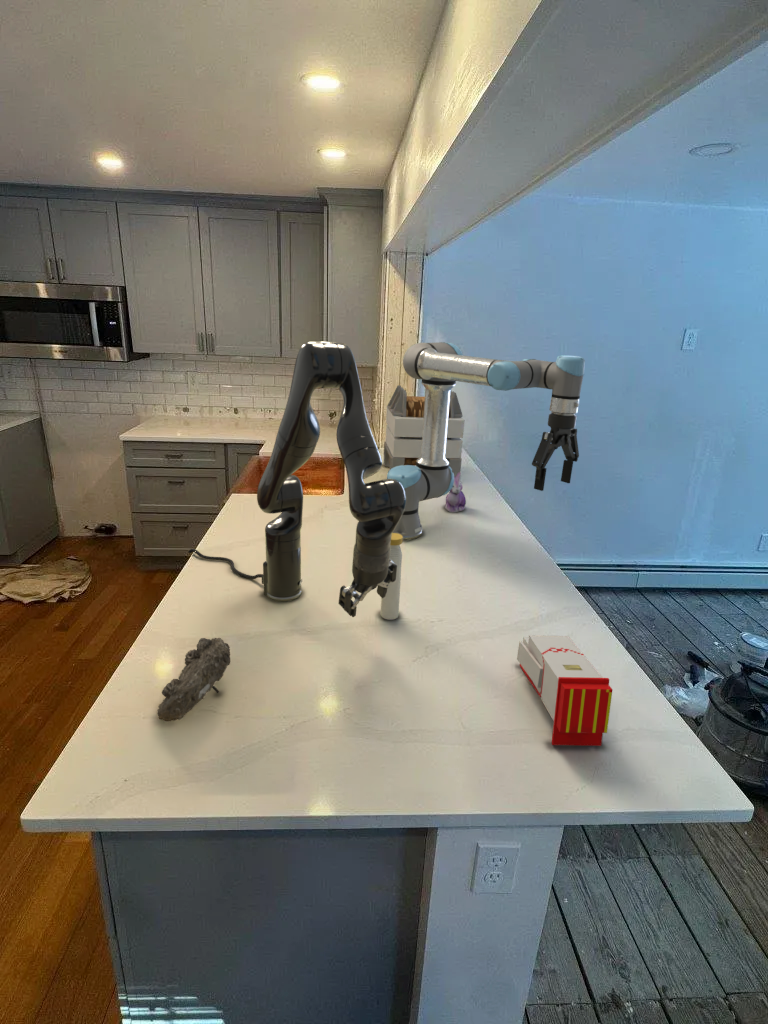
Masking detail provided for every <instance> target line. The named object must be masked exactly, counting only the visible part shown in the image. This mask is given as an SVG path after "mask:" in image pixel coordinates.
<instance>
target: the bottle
mask: <svg viewBox="0 0 768 1024" xmlns="http://www.w3.org/2000/svg"><path fill="white" fill-rule="evenodd" d="M390 559H391V560H392V561H393V562H394V563H395V564H396V565H397V572H396V580H395V581H394V582H390V583H389V584H390V585H389V586H388V587H387V593H386V596H385V597H384V598H381V597H380V617H381V618H382V619H384V620H387V621H388V620H389V621H393V620H395V619H398V618H399V615H400V614H399V611H400V597H401V593H400V592H401V580H402V579H401V577H402V563H403V561H402V560H403V552H402V548H401V544H400V545H395V546H394V545H390Z"/></svg>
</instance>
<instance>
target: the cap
mask: <svg viewBox="0 0 768 1024" xmlns="http://www.w3.org/2000/svg"><path fill="white" fill-rule="evenodd" d="M403 541H404V540H403V536H402V535H400V534H397V533H392V537H391V544H390V545H394V546H395V545H400V546H401V545H402V544H403Z"/></svg>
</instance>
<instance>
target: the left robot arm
mask: <svg viewBox="0 0 768 1024" xmlns="http://www.w3.org/2000/svg"><path fill="white" fill-rule="evenodd" d="M292 372H293V373H292V379H291V384H290V388H289V394H288V398H287V401H286V405H285V408H284V412H283V415H282V417H281V421H280V423H279V426H278V430H277V433H276V436H275V440H274V444H273V448H272V451H271V454H270V456H269V460H268V462H267V465H266V467H265V469H264V471H263V473H262V476H261V478H260V480H259V483H258V486H257V492H256V502H257V505H258V508H259V509H260V510H261V512H263V513H265V514H268V515H269V514H273V515H274V514H279V513H280V514H279V515H278V516H277V517H275V518H274V519H272V520H271V521H269V522H268V523H267V524H266V525H265V527H264V536H265V537H264V541H265V542H264V543H265V560H264V561H263V562H262V573H257V574H255V575H249V574H246V573H243V572H241V571H239V570H238V569H236V568H235V563H234V561H233V559H231V558H228V557H223V556H211V555H205V554H203V553H201V552H200V551H198V550H197V549H196V548H191V549H189V550H188V551H187V553H189V554H192V553H194V554H196V555H197V556H198V557H200V558H201V559H203V560H208V561H209V560H210V561H224V562H227V563H229V564H230V569H231V571H232V572H233V573H234V574H235V575H238V576H240V577H242V578H245V579H248V580H256V579H258V578H260V579H261V584H262V585H263V595H264V596H267V598H269V599H270V600H273V601H277V602H288V601H289V602H290V601H293V600H295V599H298V598H299V597H300V596H301V595H302V583H303V578H302V543H301V542H302V539H301V538H302V537H301V535H302V533H301V532H302V531H301V530H302V528H303V527H302V526H303V508H304V489H303V484H302V482H301V480H300V478H299V477H298V476H297V475H295V474H294V473H295V472H296V471H298V470H299V469H300V468H302V467H303V466H304V465H305V464H306V463H307V462H308V461H309V460H310V459H311V458H312V456H313V454H314V452H315V451H316V447H317V445H318V443H319V439H320V436H321V426H320V423H319V419H318V417H317V415H316V413H315V410H314V409H313V407H312V404H311V399H312V395H313V393H314V391H315V390H317V389H320V390H321V389H337V390H339V392H340V395H341V398H342V410H341V412H340V416H339V420H338V423H337V426H336V443H337V447H338V450H339V453H340V455H341V458H342V461H343V464H344V467H345V472H346V476H347V483H348V486H347V487H348V506H349V511H350V514H351V515H352V517H353V518H354V519H355V520H357V521H358V522H357V523H356V529H355V540H354V546H353V552H352V554H353V555H352V564H351V565H352V567H351V572H352V573H351V574H352V578H353V580H352V582H351V584H350V585H349V586H347V587H346V586H345V585H341V587H340V590H339V596H338V605H339V606H340V607H341V608H342V609H343V610H344V611H345V612H346V613H347V614H348V615H349V616H350V617H352V618H354V617H356V616H357V606H358V604H359V603H360V602H362V601H363V600H364V599H365V597H366V596H367V594H368V593H370V592H371V591H373V590H375V589H376V593H377V595H378V596H379V597H380V599H381V598H384V597H385V596H386V593H387V587H388V586H389V585H390V584H389V583H390V582H394V581H395V580H396V572H397V565H396V564H395V563H394V562H393V561H392V560H391V559H390V544H391V537H392V533H393V531H394V529H395V528H396V526H397V524H398V522H399V520H400V518H401V517H402V514H403V512H404V509H405V506H406V493H405V490H404V488H403V486H402V484H401V483H400V482H399V481H397V480H395V479H387V478H385V479H380V480H376V481H375V480H374V481H371V482H366V483H365V482H364V480H365V479H367V478H370V477H371V476H373V475H374V474H377V473H378V472H379V471H380V470H381V469H382V466H383V460H382V455H381V453H380V450H379V448H378V445H377V443H376V440H375V438H374V434H373V432H372V429H371V426H370V423H369V420H368V415H367V412H366V406H365V402H364V397H363V395H364V394H363V391H362V385H361V381H360V377H359V370H358V367H357V362H356V359H355V356H354V353H353V351H352V349H351V348H350V347H349V346H348V344H346V343H344V342H340V341H320V340H319V341H318V340H315V341H314V340H313V341H311V340H310V341H306V342H304V343H302V345H301V346H300V348H299V350H298V352H297V355H296V359H295V363H294V368H293V371H292ZM195 551H196V552H195ZM352 599H354V601H353V600H352Z"/></svg>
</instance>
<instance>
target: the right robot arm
mask: <svg viewBox="0 0 768 1024" xmlns="http://www.w3.org/2000/svg"><path fill="white" fill-rule="evenodd" d="M585 365H586V360H585V358H584V357H582V356H578V355H566V354H565V355H564V354H563V355H558V356H557V357H556V360H555V361H549V360H541V359H536V358H524V359H521V360H506V359H505V360H504V359H503V360H502V359H496V358H487V357H479V356H471V355H464V354H463V352H462V350H461V349H460V347H459V346H457V345H456V344H455V343H451V342H445V341H443V342H442V341H441V342H440V341H439V342H438V341H437V342H417V343H414V344H412V345H411V346H409V347H408V348H407V350H406V351H405V353H404V355H403V358H402V366H403V369H404V372H405V373H406V374H407V375H408V376H409V377H411V378H412V379H415V380H421V385H422V386H423V387H424V389H425V392H424V397H425V404H424V419H423V434H422V449H421V457H420V458H418V459H417V461H416V466H413V465H401V466H396V467H394V468H392V469H390V468H389V470H388V472H387V474H386V479H395V480H397V481H399V482H400V483H401V484H402V486H403V488H404V490H405V493H406V506H405V509H404V512H403V514H402V517H401V518H400V520H399V522H398V524H397V526H396V528H395V529H394V531H393V533H397V534H400V535H402V536H403V540H402V541H410V540H415V539H418V538H420V537H421V536H422V535H423V525H422V524H421V518H420V515H419V507H420V506H419V505H420V502H423V501H427V500H431V499H437V498H440V497H443V496H446V495H448V494H449V492H450V490H451V489H452V487H453V484H454V473H452V469H451V467H450V466H449V462H448V461H447V459H446V458H445V453H446V441H447V428H448V416H449V404H450V392H451V391H452V389H453V388H454V387H455V386H456V384H457V382H461V383H465V384H473V385H479V386H487V387H491V388H492V389H494V390H496V391H503V392H504V391H511V390H520V389H532V388H533V389H534V388H539V389H546V390H551V398H550V404H549V413H548V418H547V419H548V420H547V426H548V427H549V428H550V431H549V432H548V431H543V432H542V435H541V440H540V442H539V445H538V447H537V449H536V452H535V454H534V457H533V460H532V461H531V466H533V467H535V475H534V477H535V478H534V485H533V489H534V490H537V491H539V492H543V491H544V489H545V484H546V483H545V482H546V476H547V468H546V466H547V465H548V463H549V461H550V459H551V457H552V456H553V454H554V453H555V451H556V450H557V449H558V448H560V447H561V449H562V452H563V455H564V458H565V459H563V463H562V468H561V469H562V470H561V475H560V482H562V483H566V484H571V478H572V472H573V466H574V463H576V462H578V461H579V457H580V453H579V444H578V428H576V423H577V419H578V416H577V414H578V412H579V411H578V410H579V406H580V397H581V391H582V385H583V380H584V376H585Z"/></svg>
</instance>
